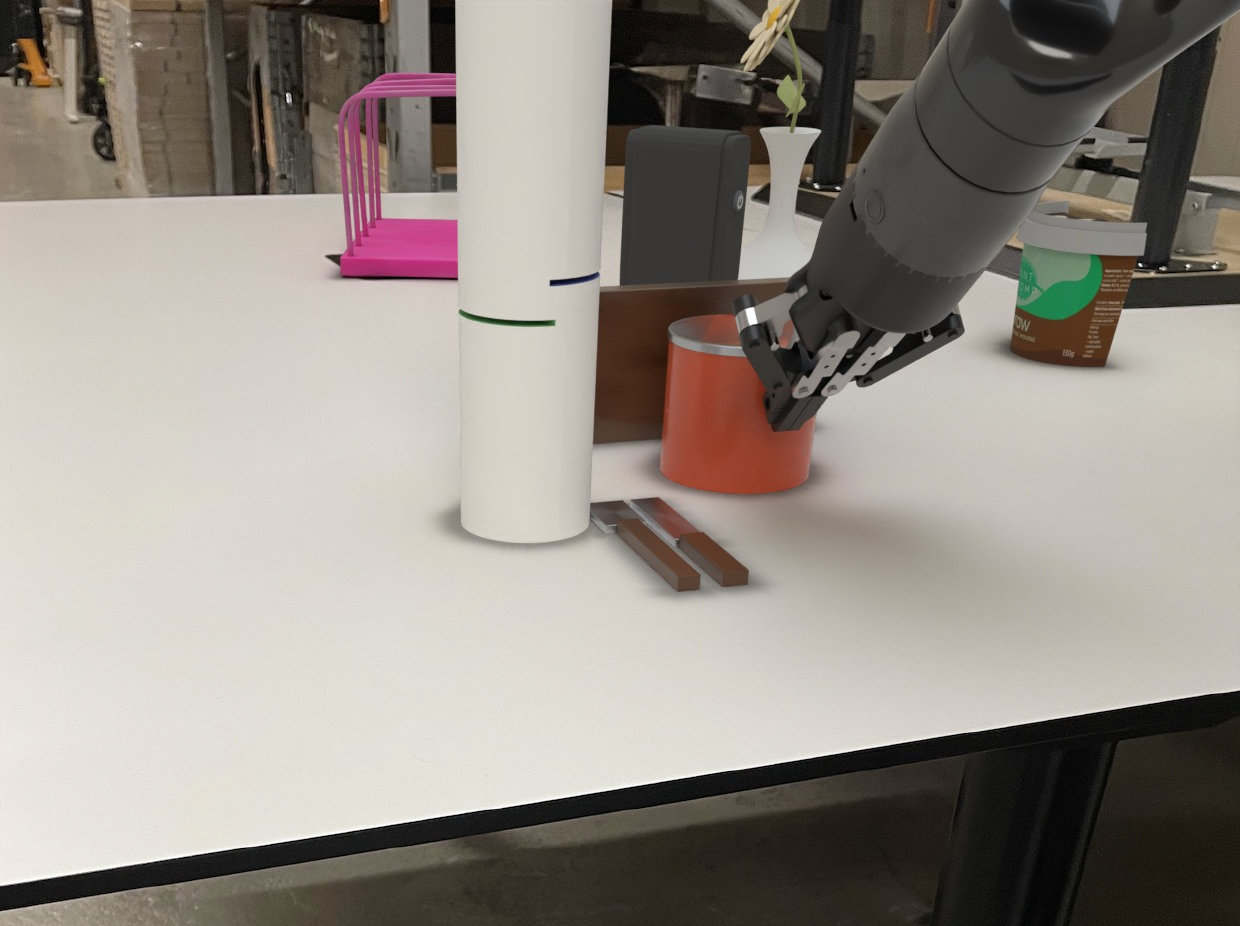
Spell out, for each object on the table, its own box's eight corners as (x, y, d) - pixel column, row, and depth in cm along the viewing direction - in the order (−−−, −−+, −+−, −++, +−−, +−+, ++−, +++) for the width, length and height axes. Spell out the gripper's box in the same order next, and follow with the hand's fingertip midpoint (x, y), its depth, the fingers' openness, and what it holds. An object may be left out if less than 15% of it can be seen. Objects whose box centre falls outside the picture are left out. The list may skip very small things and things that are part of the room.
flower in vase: (721, 295, 130) (750, -39, 115) (845, 304, 127) (892, -38, 112) (688, 323, 120) (716, -38, 105) (822, 334, 117) (870, -37, 102)
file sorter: (340, 279, 135) (329, 86, 126) (372, 236, 156) (364, 67, 146) (521, 282, 135) (523, 88, 125) (529, 239, 155) (532, 69, 146)
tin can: (830, 463, 87) (849, 324, 83) (779, 504, 81) (797, 355, 76) (692, 443, 91) (704, 308, 86) (633, 480, 84) (642, 336, 80)
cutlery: (751, 585, 71) (753, 569, 70) (666, 593, 70) (667, 578, 69) (658, 505, 81) (659, 491, 80) (582, 512, 80) (582, 497, 79)
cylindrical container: (614, 530, 77) (644, -33, 62) (500, 552, 74) (504, -33, 59) (546, 494, 82) (560, -34, 67) (438, 513, 79) (427, -35, 64)
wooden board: (796, 423, 95) (814, 275, 90) (806, 428, 94) (825, 280, 88) (570, 439, 91) (575, 287, 86) (578, 446, 90) (583, 292, 85)
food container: (967, 339, 116) (993, 201, 110) (1036, 336, 117) (1065, 199, 111) (1040, 375, 106) (1072, 225, 100) (1115, 371, 107) (1151, 223, 101)
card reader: (738, 349, 112) (759, 130, 104) (715, 359, 110) (735, 135, 101) (637, 334, 116) (649, 123, 108) (613, 343, 114) (623, 127, 105)
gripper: (1043, 121, 65) (869, 350, 82) (782, 124, 62) (656, 362, 78) (1084, 267, 64) (900, 469, 80) (821, 279, 61) (685, 487, 77)
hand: (780, 416), depth 79 cm, fingers closed
